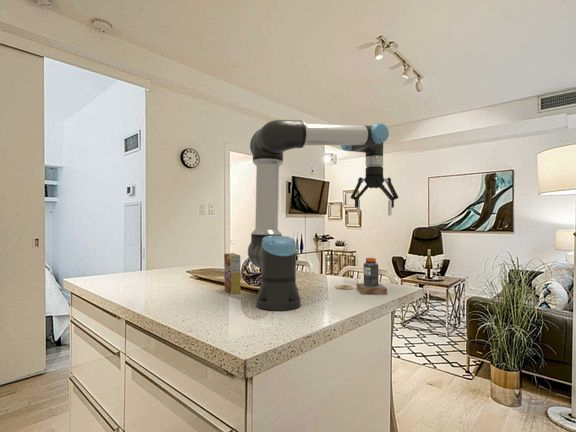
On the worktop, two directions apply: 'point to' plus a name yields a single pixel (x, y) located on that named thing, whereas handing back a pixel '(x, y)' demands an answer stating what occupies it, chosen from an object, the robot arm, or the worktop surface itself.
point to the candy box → (232, 272)
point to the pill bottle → (371, 272)
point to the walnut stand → (372, 289)
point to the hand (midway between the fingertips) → (374, 215)
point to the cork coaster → (344, 287)
